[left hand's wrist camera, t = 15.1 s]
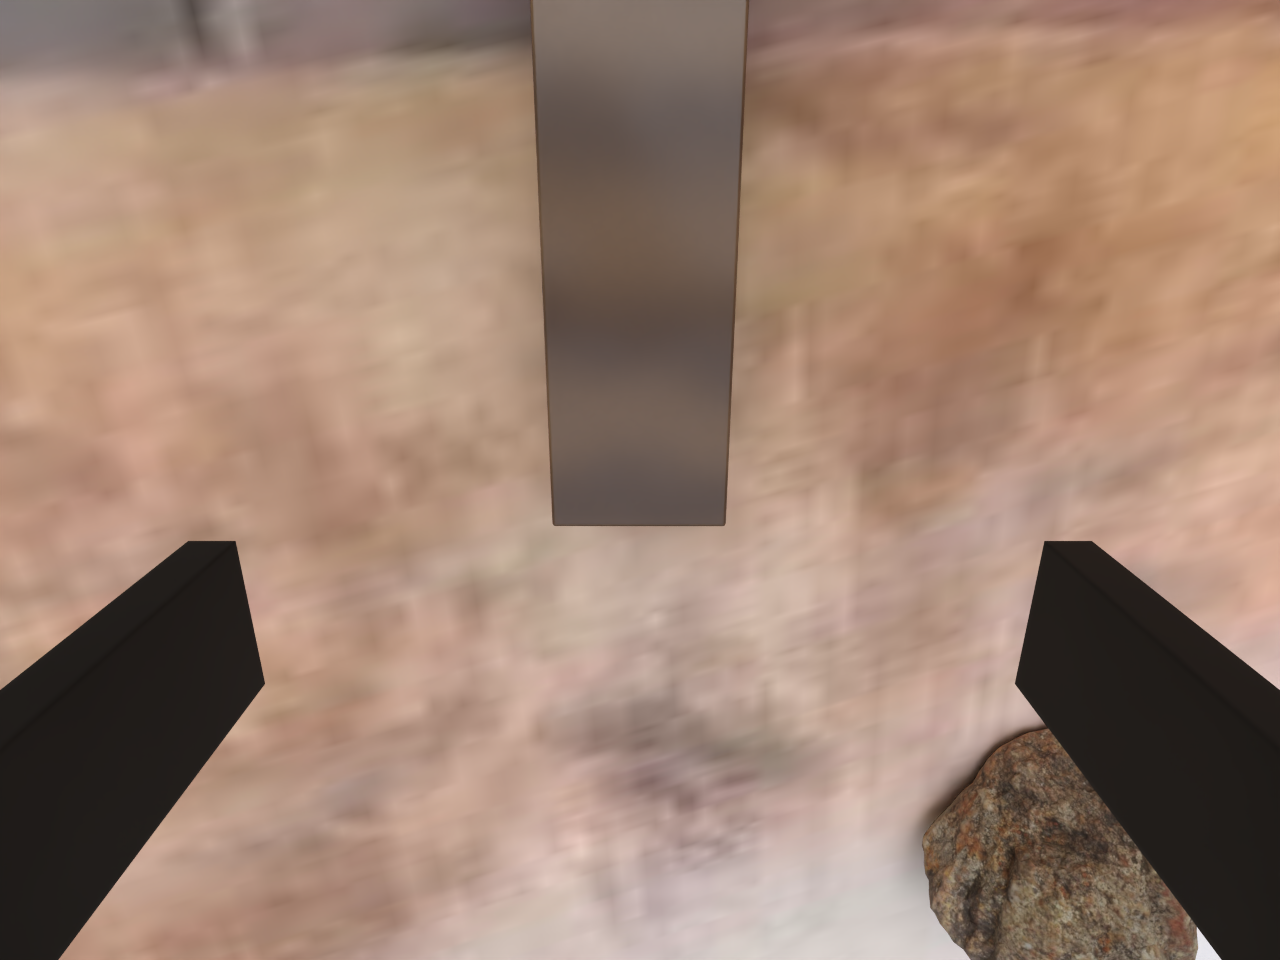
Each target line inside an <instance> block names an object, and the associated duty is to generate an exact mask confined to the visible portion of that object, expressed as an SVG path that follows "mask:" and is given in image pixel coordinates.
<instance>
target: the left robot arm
mask: <svg viewBox="0 0 1280 960" xmlns="http://www.w3.org/2000/svg"><path fill="white" fill-rule="evenodd" d="M264 684H265V681H264V676H263V672H262V667H261V662H260V657H259V652H258V648H257V643H256V638H255V633H254V628H253V623H252V619H251V614H250V609H249V604H248V599H247V594H246V590H245V585H244V580H243V575H242V570H241V566H240V561H239V556H238V551H237V546H236V541H188V542H187V543H185V544H184V545H183V546H181V547H180V548H179V549H178V550H176V551H175V552H174V553H173V554H171V555H170V556H169V557H168V558H166V559H165V560H164V561H163V562H161V563H160V564H159V565H157V566H156V567H155V568H154V569H152V570H151V571H150V572H149V573H147V574H146V575H145V576H144V577H142V578H141V579H140V580H139V581H137V582H136V583H135V584H134V585H132V586H131V587H130V588H128V589H127V590H126V591H125V592H123V593H122V594H121V595H120V596H118V597H117V598H116V599H115V600H113V601H112V602H111V603H110V604H108V605H107V606H106V607H105V608H103V609H102V610H101V611H99V612H98V613H97V614H96V615H94V616H93V617H92V618H91V619H89V620H88V621H87V622H86V623H84V624H83V625H82V626H81V627H79V628H78V629H77V630H75V631H74V632H73V633H72V634H70V635H69V636H68V637H67V638H65V639H64V640H63V641H62V642H60V643H59V644H58V645H57V646H55V647H54V648H53V649H52V650H50V651H49V652H48V653H46V654H45V655H44V656H43V657H41V658H40V659H39V660H38V661H36V662H35V663H34V664H33V665H31V666H30V667H29V668H28V669H26V670H25V671H24V672H22V673H21V674H20V675H19V676H17V677H16V678H15V679H14V680H12V681H11V682H10V683H9V684H7V685H6V686H5V687H4V688H2V689H1V690H0V960H58V959H59V958H60V957H61V955H62V954H63V953H64V951H65V950H66V949H67V947H68V946H69V945H70V943H71V942H72V941H73V939H74V938H75V937H76V935H77V934H78V933H79V931H80V930H81V929H82V927H83V926H84V925H85V923H86V922H87V921H88V919H89V918H90V917H91V915H92V914H93V913H94V911H95V910H96V909H97V907H98V906H99V905H100V903H101V902H102V901H103V899H104V898H105V897H106V895H107V894H108V893H109V891H110V890H111V889H112V887H113V886H114V885H115V883H116V882H117V881H118V879H119V878H120V877H121V875H122V874H123V873H124V871H125V870H126V869H127V867H128V866H129V865H130V863H131V862H132V861H133V859H134V858H135V857H136V855H137V854H138V853H139V851H140V850H141V849H142V847H143V846H144V845H145V843H146V842H147V841H148V839H149V838H150V837H151V835H152V834H153V833H154V831H155V830H156V829H157V827H158V826H159V825H160V823H161V822H162V821H163V819H164V818H165V817H166V815H167V814H168V813H169V811H170V810H171V809H172V807H173V806H174V805H175V803H176V802H177V801H178V799H179V798H180V797H181V795H182V794H183V793H184V791H185V790H186V789H187V787H188V786H189V785H190V783H191V782H192V781H193V779H194V778H195V777H196V775H197V774H198V773H199V771H200V770H201V769H202V767H203V766H204V765H205V763H206V762H207V761H208V759H209V758H210V757H211V755H212V754H213V753H214V751H215V750H216V749H217V747H218V746H219V744H220V743H221V742H222V740H223V739H224V738H225V736H226V735H227V734H228V732H229V731H230V730H231V728H232V727H233V726H234V724H235V723H236V722H237V720H238V719H239V718H240V716H241V715H242V714H243V712H244V711H245V710H246V708H247V707H248V706H249V704H250V703H251V702H252V700H253V699H254V698H255V696H256V695H257V694H258V692H259V691H260V690H261V688H262V687H263V686H264ZM1015 684H1016V686H1017V687H1018V688H1019V690H1020V691H1021V692H1022V694H1023V695H1024V696H1025V698H1026V699H1027V700H1028V702H1029V703H1030V704H1031V706H1032V707H1033V708H1034V710H1035V711H1036V712H1037V714H1038V715H1039V716H1040V718H1041V719H1042V720H1043V722H1044V723H1045V724H1046V726H1047V727H1048V728H1049V730H1050V731H1051V732H1052V734H1053V735H1054V736H1055V738H1056V739H1057V740H1058V742H1059V743H1060V744H1061V746H1062V747H1063V749H1064V750H1065V751H1066V753H1067V754H1068V755H1069V757H1070V758H1071V759H1072V761H1073V762H1074V763H1075V765H1076V766H1077V767H1078V769H1079V770H1080V771H1081V773H1082V774H1083V775H1084V777H1085V778H1086V779H1087V781H1088V782H1089V783H1090V785H1091V786H1092V787H1093V789H1094V790H1095V791H1096V793H1097V794H1098V795H1099V797H1100V798H1101V799H1102V801H1103V802H1104V803H1105V805H1106V806H1107V807H1108V809H1109V810H1110V811H1111V813H1112V814H1113V815H1114V817H1115V818H1116V819H1117V821H1118V822H1119V823H1120V825H1121V826H1122V827H1123V829H1124V830H1125V831H1126V833H1127V834H1128V835H1129V837H1130V838H1131V839H1132V841H1133V842H1134V843H1135V845H1136V846H1137V847H1138V849H1139V850H1140V851H1141V853H1142V854H1143V855H1144V857H1145V858H1146V859H1147V861H1148V862H1149V863H1150V865H1151V866H1152V867H1153V869H1154V870H1155V871H1156V873H1157V874H1158V875H1159V877H1160V878H1161V879H1162V881H1163V882H1164V883H1165V885H1166V886H1167V887H1168V889H1169V890H1170V891H1171V893H1172V894H1173V895H1174V897H1175V898H1176V899H1177V901H1178V902H1179V903H1180V905H1181V906H1182V907H1183V909H1184V910H1185V911H1186V913H1187V914H1188V915H1189V917H1190V918H1191V919H1192V921H1193V922H1194V923H1195V925H1196V926H1197V927H1198V929H1199V930H1200V931H1201V933H1202V934H1203V935H1204V937H1205V938H1206V939H1207V941H1208V942H1209V943H1210V945H1211V946H1212V947H1213V949H1214V950H1215V951H1216V953H1217V954H1218V955H1219V957H1220V958H1221V959H1222V960H1280V690H1279V689H1278V688H1276V687H1275V686H1274V685H1273V684H1271V683H1270V682H1269V681H1268V680H1266V679H1265V678H1264V677H1263V676H1261V675H1260V674H1259V673H1258V672H1256V671H1255V670H1254V669H1252V668H1251V667H1250V666H1249V665H1247V664H1246V663H1245V662H1244V661H1242V660H1241V659H1240V658H1239V657H1237V656H1236V655H1235V654H1234V653H1232V652H1231V651H1230V650H1228V649H1227V648H1226V647H1225V646H1223V645H1222V644H1221V643H1220V642H1218V641H1217V640H1216V639H1215V638H1213V637H1212V636H1211V635H1210V634H1208V633H1207V632H1206V631H1205V630H1203V629H1202V628H1201V627H1199V626H1198V625H1197V624H1196V623H1194V622H1193V621H1192V620H1191V619H1189V618H1188V617H1187V616H1186V615H1184V614H1183V613H1182V612H1181V611H1179V610H1178V609H1177V608H1175V607H1174V606H1173V605H1172V604H1170V603H1169V602H1168V601H1167V600H1165V599H1164V598H1163V597H1162V596H1160V595H1159V594H1158V593H1157V592H1155V591H1154V590H1153V589H1152V588H1150V587H1149V586H1148V585H1146V584H1145V583H1144V582H1143V581H1141V580H1140V579H1139V578H1138V577H1136V576H1135V575H1134V574H1133V573H1131V572H1130V571H1129V570H1128V569H1126V568H1125V567H1124V566H1123V565H1121V564H1120V563H1119V562H1117V561H1116V560H1115V559H1114V558H1112V557H1111V556H1110V555H1109V554H1107V553H1106V552H1105V551H1104V550H1102V549H1101V548H1100V547H1099V546H1097V545H1096V544H1095V543H1093V542H1092V541H1044V546H1043V551H1042V556H1041V561H1040V566H1039V570H1038V575H1037V580H1036V585H1035V590H1034V594H1033V599H1032V604H1031V609H1030V614H1029V619H1028V623H1027V628H1026V633H1025V638H1024V643H1023V648H1022V652H1021V657H1020V662H1019V667H1018V672H1017V676H1016V681H1015Z"/></svg>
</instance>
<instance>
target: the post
mask: <svg viewBox="0 0 1280 960" xmlns="http://www.w3.org/2000/svg"><path fill="white" fill-rule="evenodd" d="M748 10H749V0H530V11H531V34H532V57H533V81H534V104H535V127H536V150H537V173H538V196H539V220H540V243H541V266H542V289H543V312H544V335H545V359H546V382H547V405H548V428H549V451H550V474H551V498H552V521H553V525H554V526H724V525H725V523H726V504H727V481H728V459H729V437H730V414H731V392H732V369H733V347H734V324H735V302H736V279H737V257H738V235H739V212H740V190H741V167H742V145H743V122H744V100H745V77H746V55H747V32H748Z"/></svg>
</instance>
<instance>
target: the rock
mask: <svg viewBox="0 0 1280 960" xmlns="http://www.w3.org/2000/svg"><path fill="white" fill-rule="evenodd" d="M922 846H923V850H924V866H925V873H926V876H927V878H928V879H929V897H930V907H931V909H932V910H933V912H934V913H935V914H936V916H937V919H938V921H939V923H940V924H941V925H942V927H943V928H944V929H945V930H946V931H947V933H948V934H949V936H950V937H951V939H952V940H953V942H954V943H956V944H957V945H958V946H960V947H961V948H962V949H964V951H965V952H966V954H967V955H968V956H969V958H970V959H971V960H1195V958H1196V954H1197V950H1198V942H1197V926H1196V925H1195V923H1194V922H1193V921H1192V919H1191V918H1190V917H1189V915H1188V914H1187V913H1186V911H1185V910H1184V909H1183V907H1182V906H1181V905H1180V903H1179V902H1178V901H1177V899H1176V898H1175V897H1174V895H1173V894H1172V893H1171V891H1170V890H1169V889H1168V887H1167V886H1166V885H1165V883H1164V882H1163V881H1162V879H1161V878H1160V877H1159V875H1158V874H1157V873H1156V871H1155V870H1154V869H1153V867H1152V866H1151V865H1150V863H1149V862H1148V861H1147V859H1146V858H1145V857H1144V855H1143V854H1142V853H1141V851H1140V850H1139V849H1138V847H1137V846H1136V845H1135V843H1134V842H1133V841H1132V839H1131V838H1130V837H1129V835H1128V834H1127V833H1126V831H1125V830H1124V829H1123V827H1122V826H1121V825H1120V823H1119V822H1118V821H1117V819H1116V818H1115V817H1114V815H1113V814H1112V813H1111V811H1110V810H1109V809H1108V807H1107V806H1106V805H1105V803H1104V802H1103V801H1102V799H1101V798H1100V797H1099V795H1098V794H1097V793H1096V791H1095V790H1094V789H1093V787H1092V786H1091V785H1090V783H1089V782H1088V781H1087V779H1086V778H1085V777H1084V775H1083V774H1082V773H1081V771H1080V770H1079V769H1078V767H1077V766H1076V765H1075V763H1074V762H1073V761H1072V759H1071V758H1070V757H1069V755H1068V754H1067V753H1066V751H1065V750H1064V749H1063V747H1062V746H1061V744H1060V743H1059V742H1058V740H1057V739H1056V738H1055V736H1054V735H1053V734H1052V732H1051V731H1050V730H1049V728H1048V729H1044V730H1039V731H1034V732H1029V733H1026V734H1024V735H1021V736H1019V737H1017V738H1015V739H1013V740H1011V741H1010V742H1008V743H1006V744H1004V745H1002V746H1001V747H999V748H998V749H997V750H996V751H995V752H994V753H993V754H992V755H991V756H990V757H989V758H988V759H987V761H986V762H985V764H984V765H983V767H982V768H981V769H980V771H979V772H978V774H977V776H976V778H975V780H974V781H973V783H972V784H970V785H969V786H968V787H966V788H965V789H964V790H963V791H962V792H961V793H960V794H959V795H958V796H957V797H956V799H955V800H954V801H953V802H952V804H951V805H950V806H949V807H948V808H947V809H946V810H945V811H944V812H943V813H942V814H941V815H940V816H939V817H938V818H937V819H936V820H935V821H934V822H933V824H932V825H931V826H930V828H929V829H928V830H927V832H926V833H925V835H924V837H923V842H922Z"/></svg>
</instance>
